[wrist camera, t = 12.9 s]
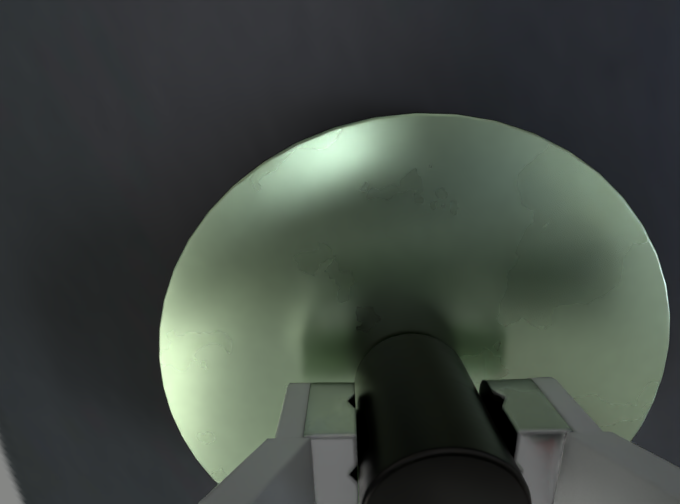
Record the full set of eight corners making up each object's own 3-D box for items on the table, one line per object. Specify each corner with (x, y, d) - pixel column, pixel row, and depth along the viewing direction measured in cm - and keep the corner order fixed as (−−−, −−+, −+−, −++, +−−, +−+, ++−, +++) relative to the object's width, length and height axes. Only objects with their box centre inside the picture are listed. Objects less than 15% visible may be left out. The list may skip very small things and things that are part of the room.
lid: (136, 126, 8) (-97, 111, 4) (685, 104, 8) (1095, 62, 4) (212, 519, 12) (137, 737, 8) (590, 514, 12) (736, 737, 8)
